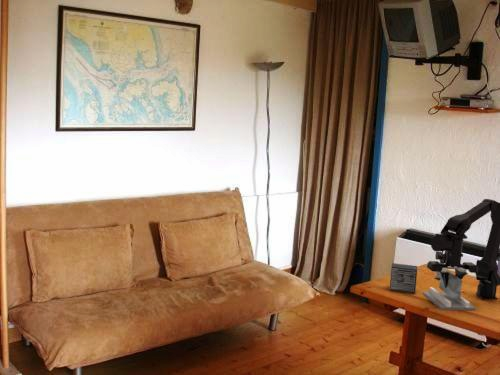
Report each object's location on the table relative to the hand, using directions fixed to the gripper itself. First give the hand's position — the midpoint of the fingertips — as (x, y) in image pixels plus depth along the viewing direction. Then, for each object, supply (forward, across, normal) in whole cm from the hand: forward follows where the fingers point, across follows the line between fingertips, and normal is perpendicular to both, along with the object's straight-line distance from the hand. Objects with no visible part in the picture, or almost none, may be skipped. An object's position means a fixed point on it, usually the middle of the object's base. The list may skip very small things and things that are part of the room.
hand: (450, 287), depth 243 cm
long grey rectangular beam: (+2, 0, 0) cm, 2 cm away
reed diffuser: (+6, -11, -31) cm, 33 cm away
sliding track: (+6, 0, 0) cm, 6 cm away
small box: (+6, +14, -14) cm, 21 cm away
